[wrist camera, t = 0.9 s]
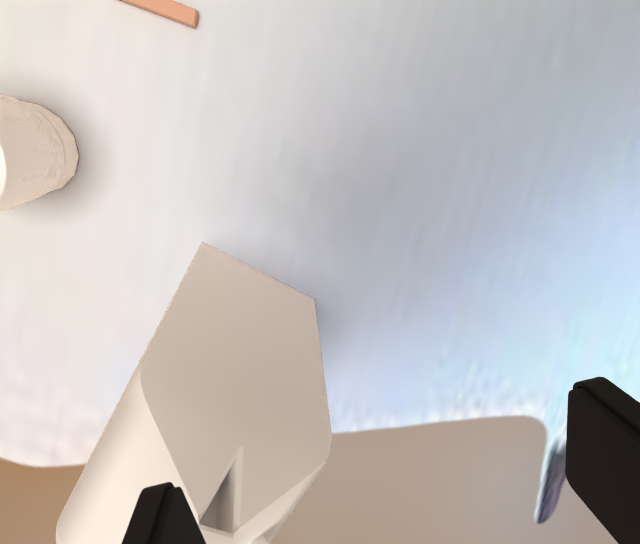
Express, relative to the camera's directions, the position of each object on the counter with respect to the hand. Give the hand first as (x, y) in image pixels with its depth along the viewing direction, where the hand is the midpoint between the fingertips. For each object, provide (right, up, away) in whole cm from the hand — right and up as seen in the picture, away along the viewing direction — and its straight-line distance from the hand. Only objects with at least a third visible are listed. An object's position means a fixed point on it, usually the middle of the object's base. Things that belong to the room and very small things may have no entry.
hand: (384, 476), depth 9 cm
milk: (-10, 0, +28) cm, 30 cm away
